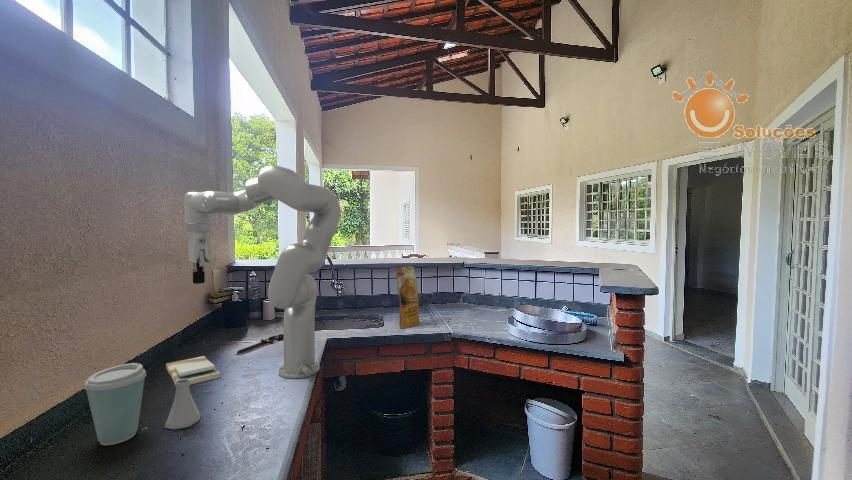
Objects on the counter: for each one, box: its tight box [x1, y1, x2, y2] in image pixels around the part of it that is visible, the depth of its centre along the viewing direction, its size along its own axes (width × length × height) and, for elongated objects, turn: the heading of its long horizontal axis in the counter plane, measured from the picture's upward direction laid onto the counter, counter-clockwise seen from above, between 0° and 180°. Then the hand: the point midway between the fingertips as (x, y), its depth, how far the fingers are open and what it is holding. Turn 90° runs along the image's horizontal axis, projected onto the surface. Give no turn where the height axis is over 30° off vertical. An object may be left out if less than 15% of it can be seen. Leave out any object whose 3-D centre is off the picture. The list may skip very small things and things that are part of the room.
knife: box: [234, 333, 284, 356], centre depth 147 cm, size 25×6×1 cm, turn 154°
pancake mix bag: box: [395, 265, 421, 329], centre depth 179 cm, size 7×19×28 cm, turn 150°
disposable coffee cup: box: [84, 362, 147, 447], centre depth 83 cm, size 11×11×15 cm
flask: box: [164, 378, 202, 430], centre depth 89 cm, size 7×7×10 cm
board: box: [165, 355, 221, 386], centre depth 119 cm, size 20×11×2 cm, turn 42°
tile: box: [175, 359, 216, 377], centre depth 116 cm, size 9×9×1 cm
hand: (198, 283), depth 127 cm, fingers closed
